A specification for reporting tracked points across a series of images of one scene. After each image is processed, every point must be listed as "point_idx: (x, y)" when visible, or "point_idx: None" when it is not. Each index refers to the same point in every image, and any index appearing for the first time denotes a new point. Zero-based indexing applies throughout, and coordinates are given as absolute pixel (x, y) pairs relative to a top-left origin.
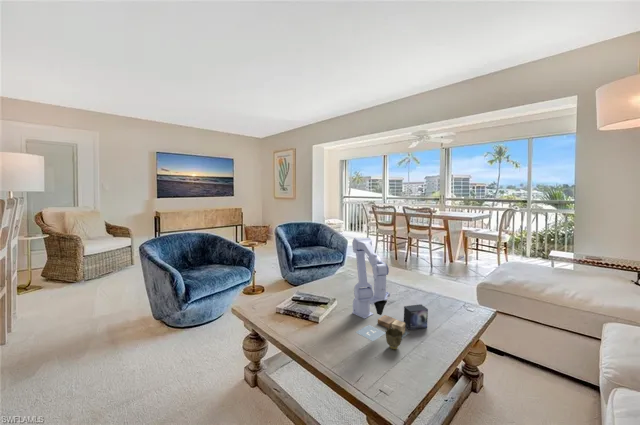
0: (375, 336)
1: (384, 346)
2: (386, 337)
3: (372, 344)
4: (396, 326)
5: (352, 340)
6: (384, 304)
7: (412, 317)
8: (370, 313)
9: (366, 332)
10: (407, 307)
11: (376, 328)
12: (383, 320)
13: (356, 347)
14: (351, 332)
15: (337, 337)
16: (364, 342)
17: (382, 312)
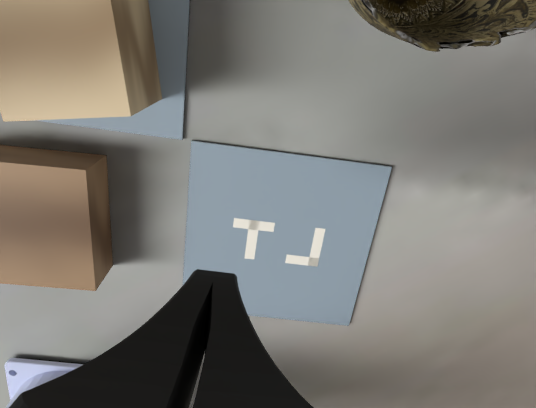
0: (310, 186)
1: (408, 50)
2: (506, 6)
3: (433, 150)
4: (125, 49)
5: (457, 288)
6: (137, 376)
7: None
8: (23, 375)
9: (299, 267)
10: None
11: (188, 238)
12: (71, 242)
13: (533, 224)
14: (361, 341)
15: (472, 371)
16: (438, 212)
17: (190, 280)
